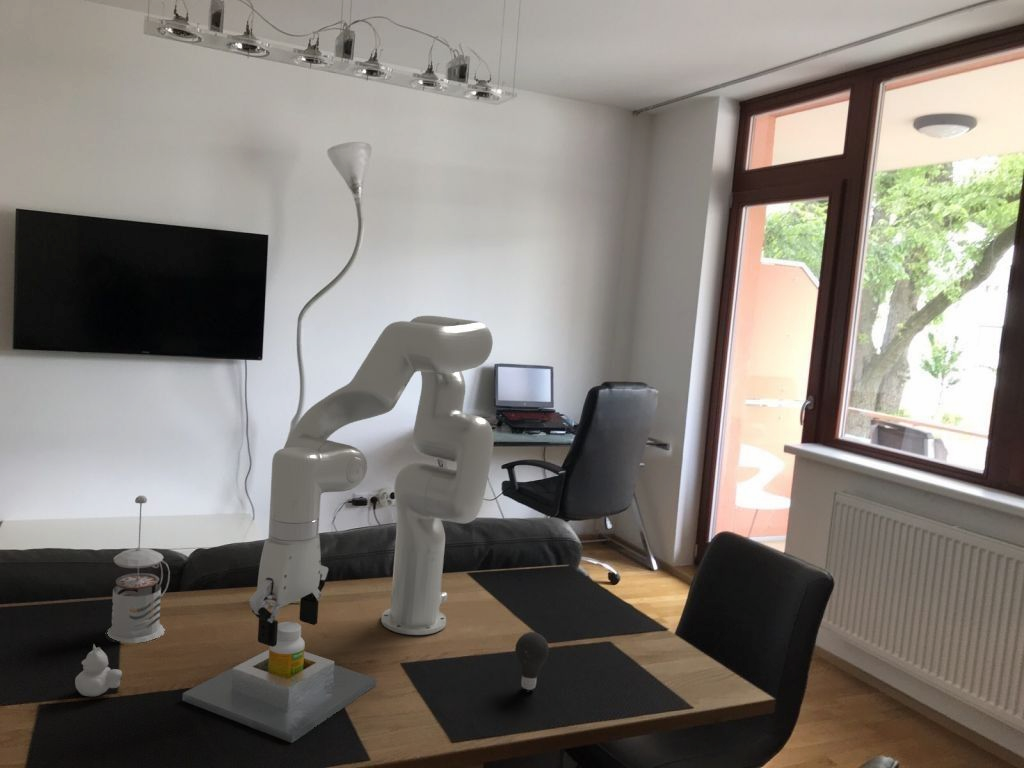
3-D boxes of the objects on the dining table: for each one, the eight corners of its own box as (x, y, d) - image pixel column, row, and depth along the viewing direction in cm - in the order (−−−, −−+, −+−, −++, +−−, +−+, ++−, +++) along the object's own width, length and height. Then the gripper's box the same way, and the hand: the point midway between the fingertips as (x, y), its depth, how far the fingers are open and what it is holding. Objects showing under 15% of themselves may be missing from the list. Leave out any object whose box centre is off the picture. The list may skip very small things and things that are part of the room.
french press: (91, 635, 148) (96, 496, 145) (143, 614, 158) (149, 483, 155) (134, 649, 144) (140, 506, 141) (184, 626, 155) (191, 493, 152)
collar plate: (275, 651, 148) (277, 626, 147) (375, 685, 139) (378, 658, 139) (182, 700, 129) (183, 671, 128) (291, 742, 120) (293, 711, 120)
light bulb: (510, 681, 145) (515, 625, 144) (542, 683, 145) (548, 627, 144) (512, 697, 139) (518, 639, 138) (546, 699, 140) (552, 641, 139)
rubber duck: (82, 684, 131) (84, 635, 130) (127, 686, 132) (129, 637, 131) (68, 702, 125) (69, 650, 125) (114, 703, 126) (116, 652, 125)
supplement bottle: (292, 696, 131) (296, 636, 130) (260, 689, 132) (264, 630, 131) (307, 680, 136) (311, 623, 135) (277, 674, 137) (280, 617, 136)
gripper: (310, 511, 140) (304, 609, 142) (235, 536, 125) (230, 646, 127) (347, 520, 137) (341, 620, 139) (275, 547, 122) (269, 659, 124)
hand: (288, 632), depth 133 cm, fingers open, 9 cm apart
